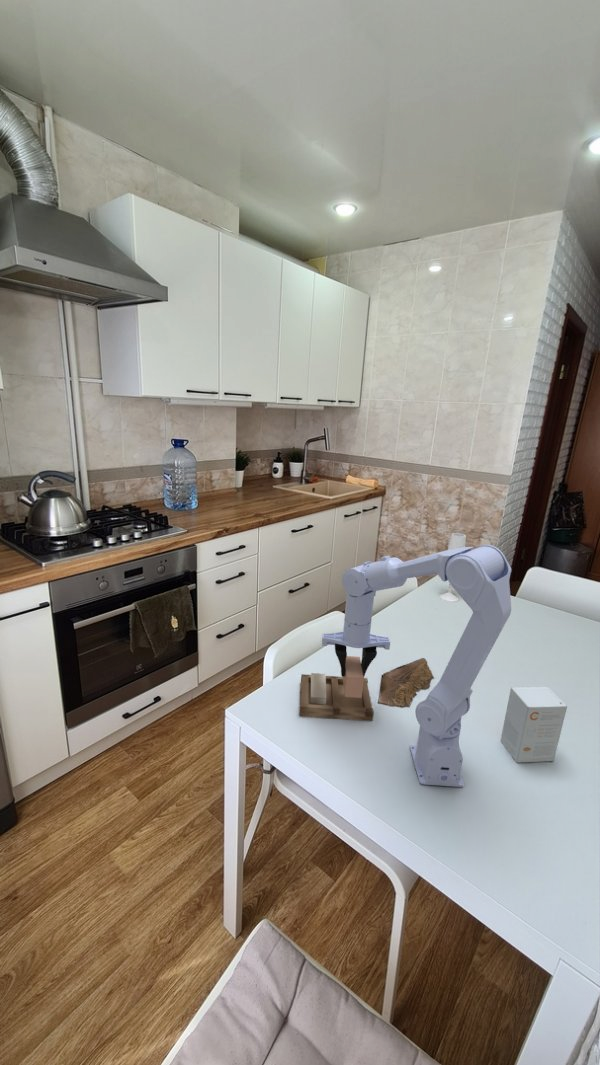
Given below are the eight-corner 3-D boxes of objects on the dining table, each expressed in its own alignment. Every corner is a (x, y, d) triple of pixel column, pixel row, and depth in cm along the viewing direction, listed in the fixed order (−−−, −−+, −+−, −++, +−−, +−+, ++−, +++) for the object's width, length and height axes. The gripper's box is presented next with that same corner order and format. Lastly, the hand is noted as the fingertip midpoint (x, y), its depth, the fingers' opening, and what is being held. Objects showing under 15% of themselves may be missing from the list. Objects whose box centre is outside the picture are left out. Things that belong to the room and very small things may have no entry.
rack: (366, 687, 109) (367, 672, 108) (372, 721, 97) (374, 705, 96) (300, 683, 109) (301, 668, 108) (299, 716, 98) (300, 700, 96)
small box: (535, 738, 95) (547, 685, 91) (554, 762, 89) (568, 706, 85) (498, 739, 94) (510, 686, 90) (515, 763, 88) (528, 707, 84)
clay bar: (361, 697, 96) (363, 677, 94) (344, 696, 96) (346, 676, 94) (357, 675, 103) (359, 656, 102) (342, 675, 103) (343, 655, 102)
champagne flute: (456, 594, 166) (466, 532, 159) (460, 602, 159) (471, 538, 153) (438, 593, 167) (447, 531, 160) (441, 600, 160) (450, 536, 153)
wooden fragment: (401, 716, 100) (401, 712, 99) (359, 695, 106) (360, 691, 106) (447, 669, 119) (448, 666, 118) (410, 653, 125) (410, 650, 125)
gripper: (388, 612, 99) (382, 666, 103) (323, 608, 99) (319, 662, 103) (394, 628, 92) (387, 684, 96) (324, 624, 92) (320, 680, 96)
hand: (352, 674), depth 99 cm, fingers closed on clay bar, 4 cm apart
